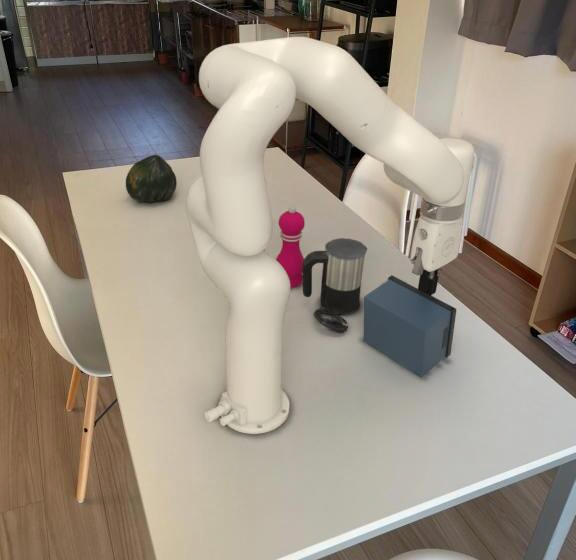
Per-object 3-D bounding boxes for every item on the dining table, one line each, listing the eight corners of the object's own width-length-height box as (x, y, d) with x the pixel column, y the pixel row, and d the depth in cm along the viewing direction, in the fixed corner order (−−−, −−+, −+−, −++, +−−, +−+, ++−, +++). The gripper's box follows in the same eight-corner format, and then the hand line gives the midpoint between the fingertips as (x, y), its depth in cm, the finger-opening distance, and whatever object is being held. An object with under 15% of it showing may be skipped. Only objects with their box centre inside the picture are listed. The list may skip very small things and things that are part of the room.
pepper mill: (301, 291, 137) (305, 214, 127) (271, 287, 139) (273, 210, 128) (306, 275, 143) (310, 201, 133) (278, 271, 145) (279, 198, 134)
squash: (113, 178, 179) (126, 151, 167) (156, 169, 188) (171, 143, 176) (133, 217, 177) (148, 193, 165) (175, 206, 186) (192, 183, 174)
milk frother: (349, 290, 138) (355, 234, 131) (382, 327, 126) (390, 268, 118) (294, 300, 134) (297, 244, 126) (322, 340, 121) (327, 280, 114)
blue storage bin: (422, 378, 112) (427, 332, 105) (362, 340, 122) (362, 295, 115) (450, 354, 117) (456, 308, 109) (389, 319, 126) (391, 274, 119)
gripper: (434, 226, 99) (418, 314, 109) (482, 203, 108) (463, 286, 117) (399, 212, 104) (387, 297, 113) (448, 191, 112) (433, 271, 122)
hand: (426, 291), depth 115 cm, fingers closed
